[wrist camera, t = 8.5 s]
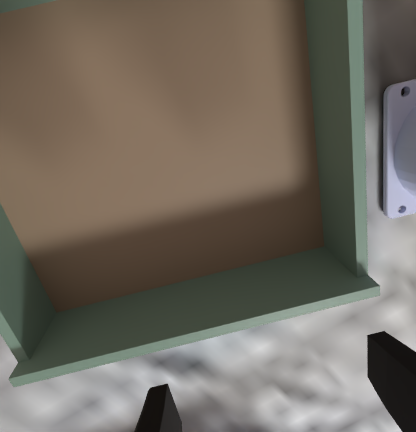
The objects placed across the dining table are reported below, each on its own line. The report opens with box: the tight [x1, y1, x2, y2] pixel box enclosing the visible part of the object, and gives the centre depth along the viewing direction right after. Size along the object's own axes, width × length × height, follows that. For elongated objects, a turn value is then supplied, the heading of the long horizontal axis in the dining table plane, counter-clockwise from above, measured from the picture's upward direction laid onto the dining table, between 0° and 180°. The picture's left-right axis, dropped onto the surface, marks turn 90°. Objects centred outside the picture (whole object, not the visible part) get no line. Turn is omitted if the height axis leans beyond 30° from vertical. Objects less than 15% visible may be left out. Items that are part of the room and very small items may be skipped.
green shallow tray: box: [0, 0, 380, 387], centre depth 14 cm, size 19×17×5 cm
